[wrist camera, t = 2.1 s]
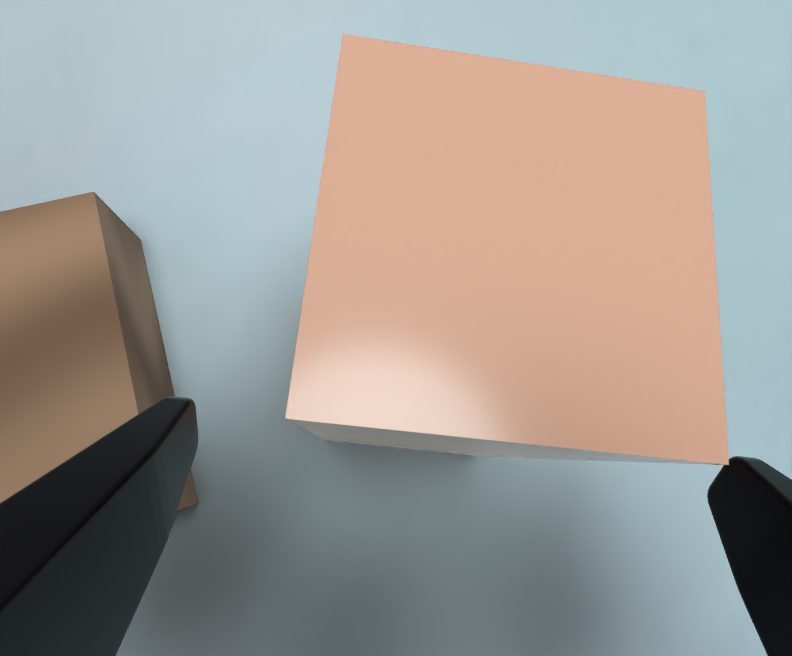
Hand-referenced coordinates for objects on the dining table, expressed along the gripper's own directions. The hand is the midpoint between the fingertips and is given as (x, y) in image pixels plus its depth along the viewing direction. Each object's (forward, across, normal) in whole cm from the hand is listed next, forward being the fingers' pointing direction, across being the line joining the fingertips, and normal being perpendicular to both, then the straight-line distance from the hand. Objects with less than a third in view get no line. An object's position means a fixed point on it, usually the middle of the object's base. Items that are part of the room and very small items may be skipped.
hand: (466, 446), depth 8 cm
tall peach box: (+9, 0, +5) cm, 10 cm away
